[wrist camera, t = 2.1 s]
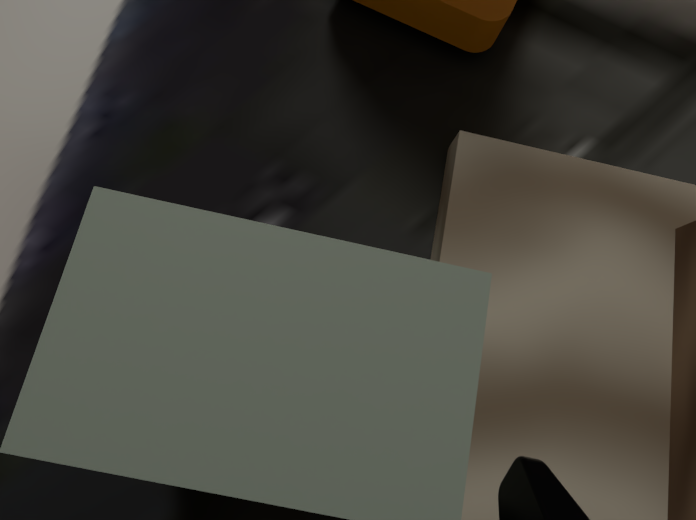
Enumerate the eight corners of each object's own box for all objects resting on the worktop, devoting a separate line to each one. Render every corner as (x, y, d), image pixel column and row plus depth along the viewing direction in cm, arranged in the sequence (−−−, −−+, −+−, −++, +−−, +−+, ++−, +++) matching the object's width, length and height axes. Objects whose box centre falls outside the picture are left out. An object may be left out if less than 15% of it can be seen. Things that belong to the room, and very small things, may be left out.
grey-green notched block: (363, 449, 17) (458, 540, 7) (177, 411, 17) (-2, 451, 7) (384, 335, 18) (491, 273, 8) (208, 298, 18) (94, 185, 8)
